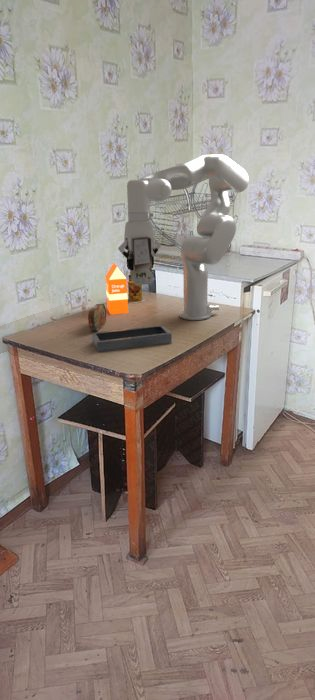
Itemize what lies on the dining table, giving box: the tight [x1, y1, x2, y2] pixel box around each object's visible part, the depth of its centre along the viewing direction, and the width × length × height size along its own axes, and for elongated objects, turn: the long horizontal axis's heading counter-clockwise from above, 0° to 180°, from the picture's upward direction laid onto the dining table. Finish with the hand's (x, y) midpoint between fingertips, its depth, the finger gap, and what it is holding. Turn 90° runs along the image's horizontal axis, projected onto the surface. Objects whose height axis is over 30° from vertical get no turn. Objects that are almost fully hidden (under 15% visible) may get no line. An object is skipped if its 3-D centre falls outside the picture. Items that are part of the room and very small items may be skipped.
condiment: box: [127, 274, 147, 304], centre depth 233 cm, size 7×8×12 cm
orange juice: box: [105, 262, 129, 315], centre depth 216 cm, size 8×9×20 cm
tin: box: [87, 303, 107, 332], centre depth 198 cm, size 15×3×8 cm, turn 168°
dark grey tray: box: [91, 324, 173, 353], centre depth 181 cm, size 26×10×4 cm, turn 107°
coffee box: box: [129, 237, 153, 286], centre depth 184 cm, size 9×6×16 cm
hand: (140, 268), depth 185 cm, fingers closed on coffee box, 7 cm apart
